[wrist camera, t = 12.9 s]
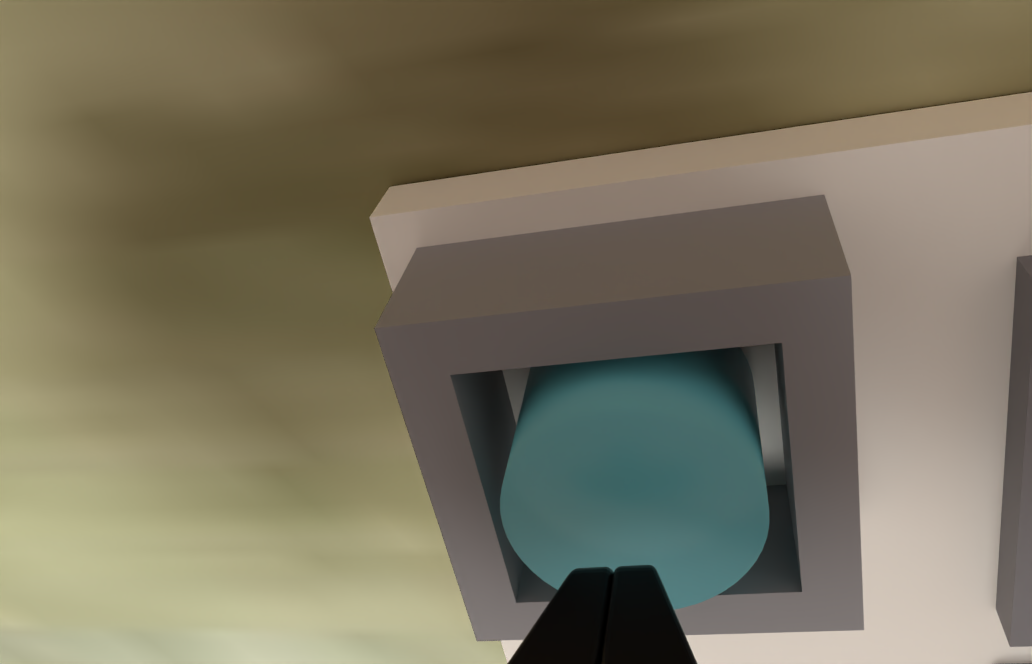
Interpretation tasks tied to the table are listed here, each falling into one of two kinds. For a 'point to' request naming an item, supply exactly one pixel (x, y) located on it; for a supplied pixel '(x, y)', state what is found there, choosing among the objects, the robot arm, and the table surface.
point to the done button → (640, 471)
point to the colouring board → (758, 364)
